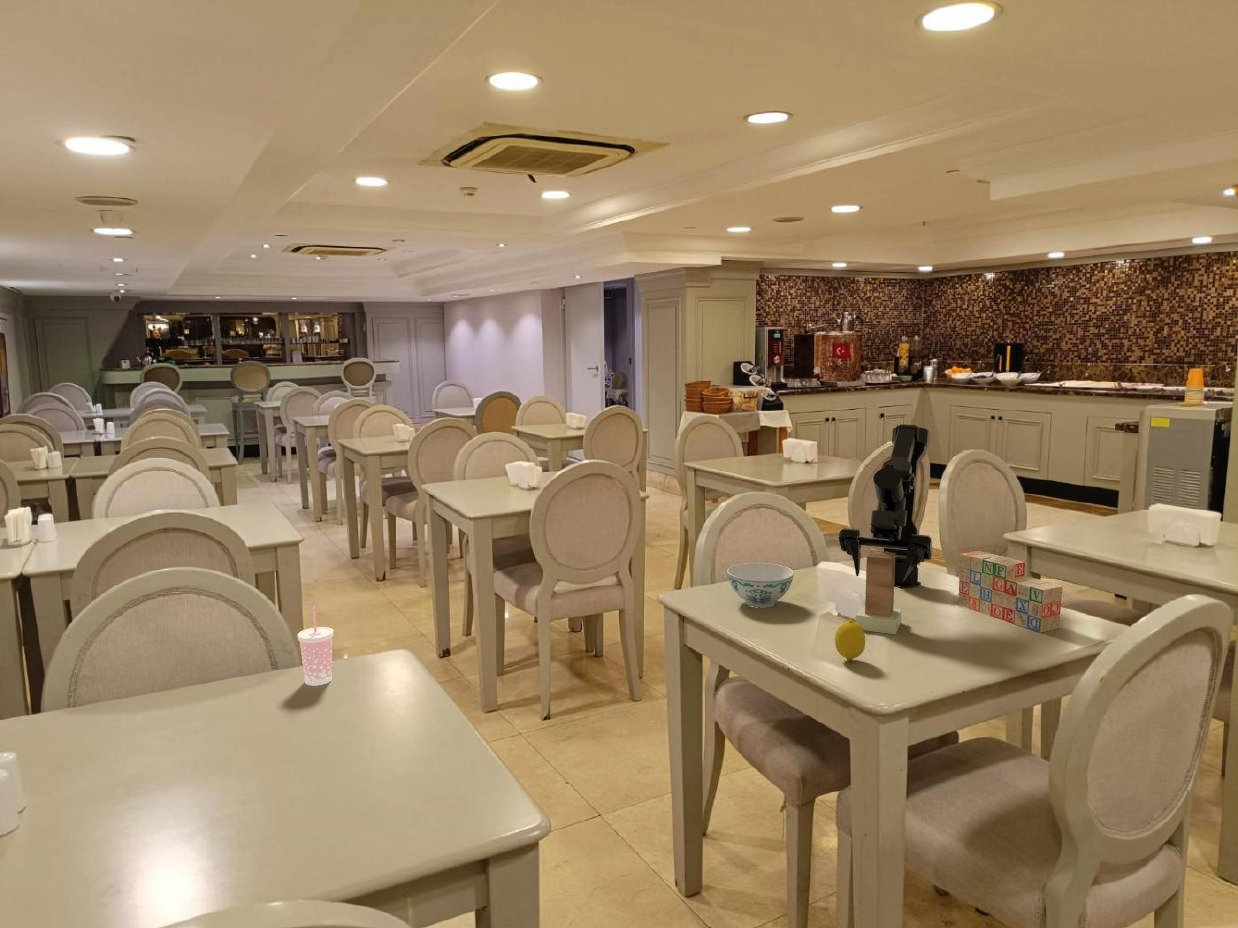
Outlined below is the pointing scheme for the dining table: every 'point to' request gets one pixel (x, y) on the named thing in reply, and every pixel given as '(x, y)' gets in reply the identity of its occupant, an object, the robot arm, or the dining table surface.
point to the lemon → (850, 640)
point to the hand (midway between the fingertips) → (879, 577)
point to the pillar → (880, 583)
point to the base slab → (879, 622)
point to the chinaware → (760, 582)
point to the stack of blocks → (1008, 591)
